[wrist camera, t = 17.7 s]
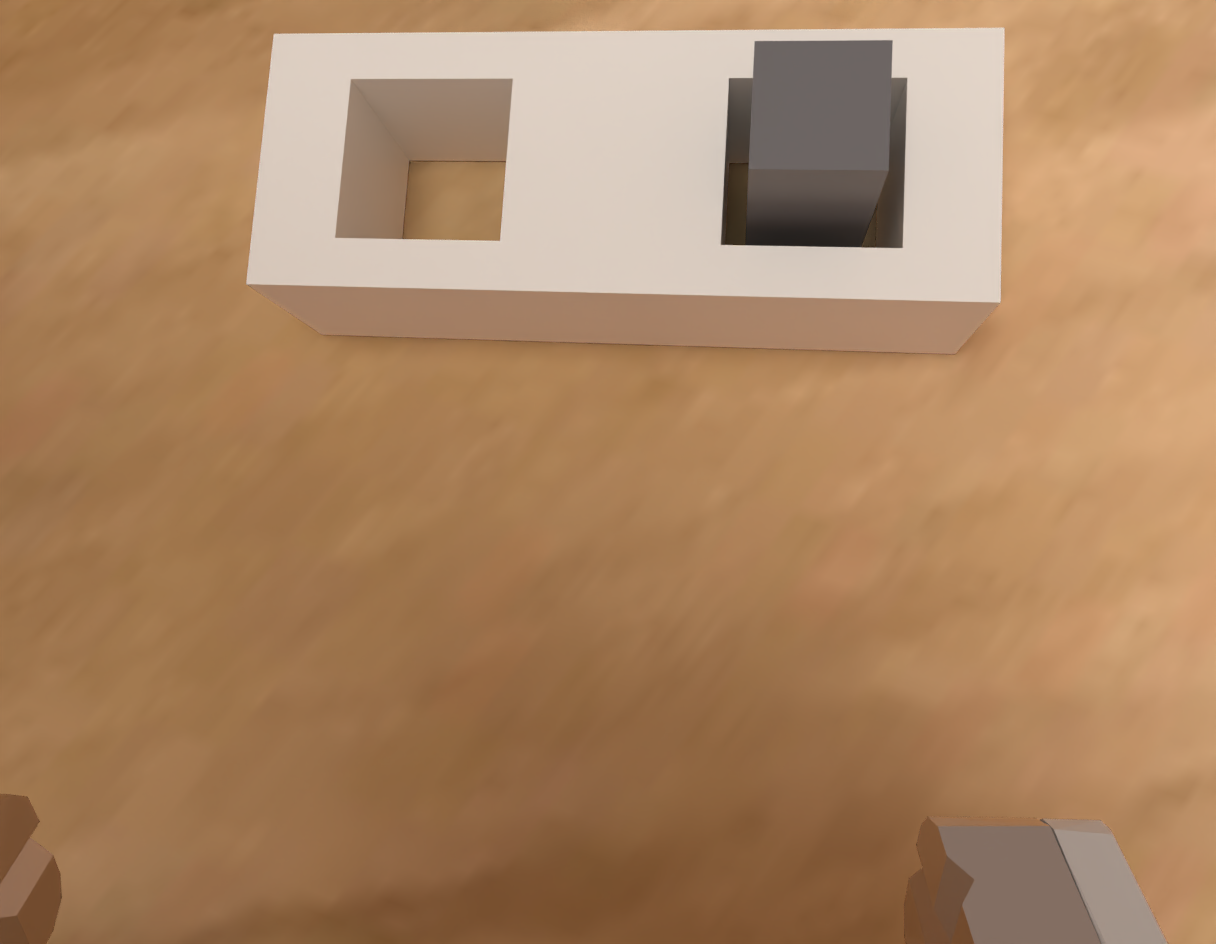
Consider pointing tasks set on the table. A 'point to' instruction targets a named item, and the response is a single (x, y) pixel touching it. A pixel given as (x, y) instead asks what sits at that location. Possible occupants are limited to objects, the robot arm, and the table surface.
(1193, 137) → the table surface
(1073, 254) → the table surface
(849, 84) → the plug
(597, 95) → the white socket block
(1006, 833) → the robot arm
